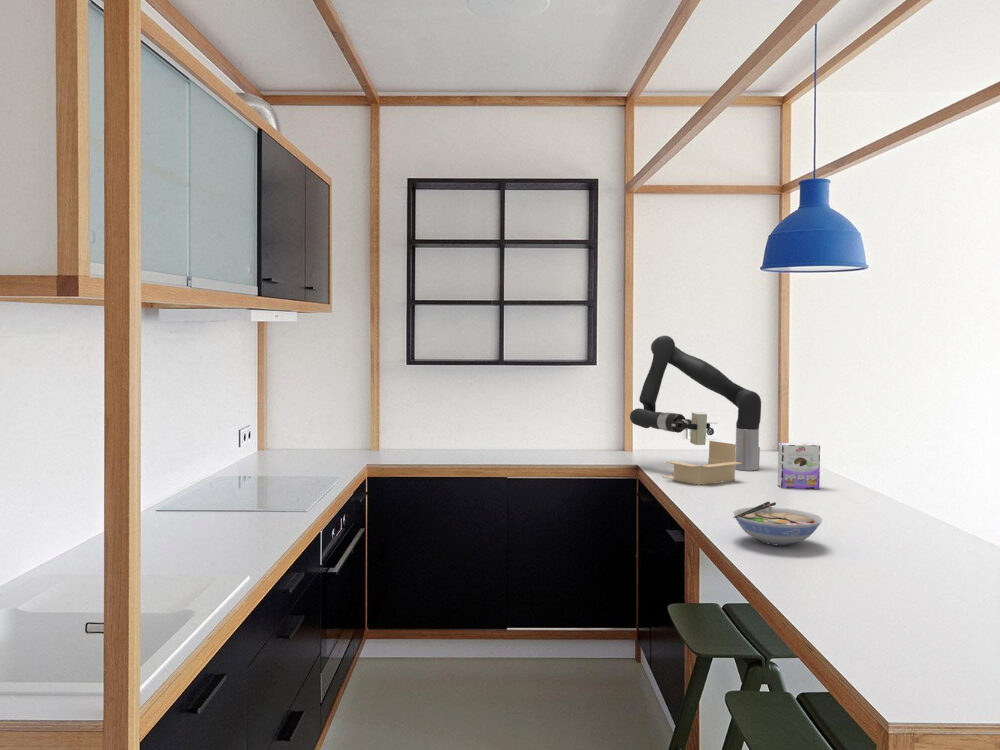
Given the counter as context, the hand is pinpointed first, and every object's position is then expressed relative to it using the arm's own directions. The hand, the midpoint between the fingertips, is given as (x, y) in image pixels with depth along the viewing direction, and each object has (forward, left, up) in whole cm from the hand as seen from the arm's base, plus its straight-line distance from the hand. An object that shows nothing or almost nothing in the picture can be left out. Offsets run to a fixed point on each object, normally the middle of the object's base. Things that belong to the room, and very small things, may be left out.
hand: (703, 426), depth 316 cm
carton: (+2, 0, -21) cm, 21 cm away
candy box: (-18, +30, -21) cm, 41 cm away
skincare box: (0, -2, -7) cm, 8 cm away
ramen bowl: (+59, +78, -21) cm, 100 cm away
